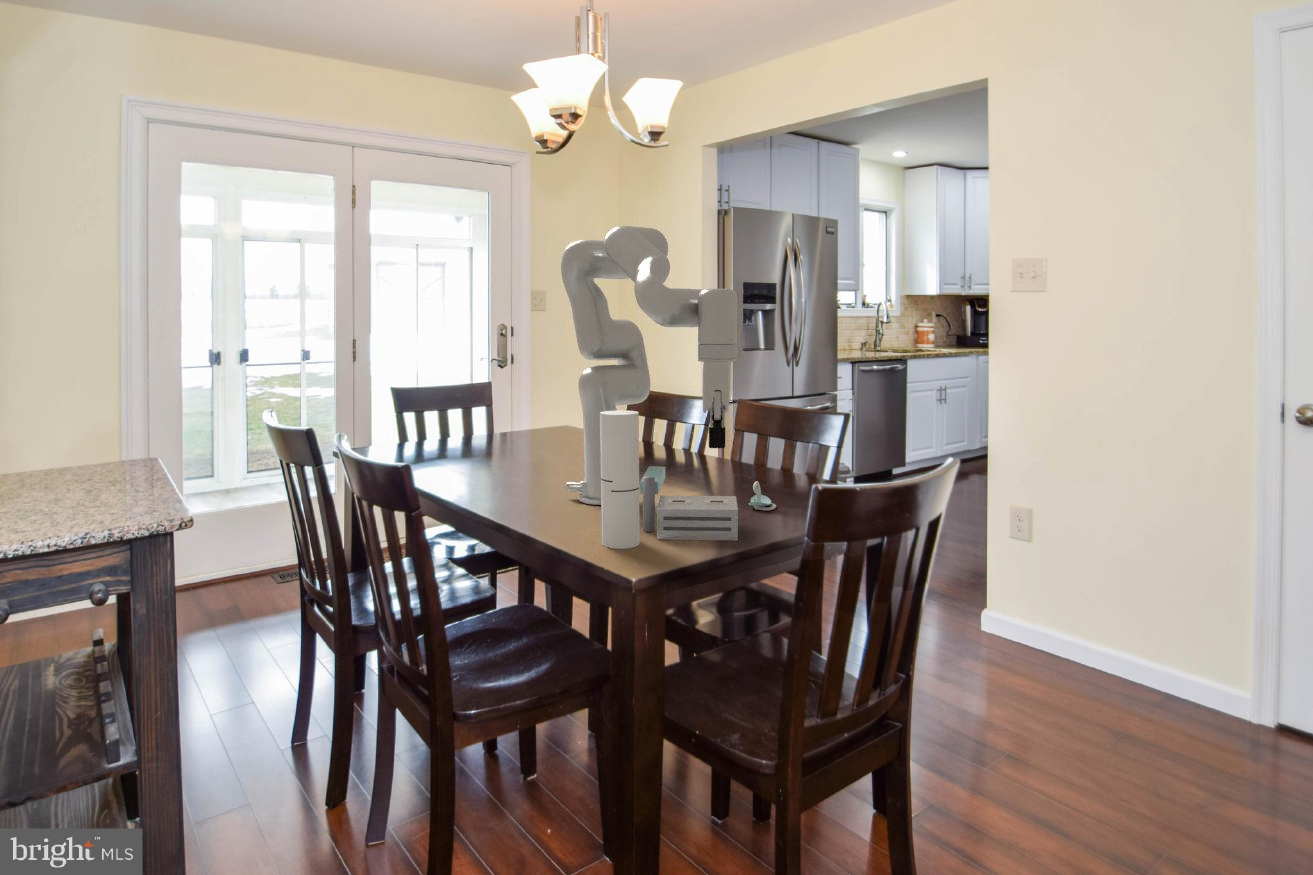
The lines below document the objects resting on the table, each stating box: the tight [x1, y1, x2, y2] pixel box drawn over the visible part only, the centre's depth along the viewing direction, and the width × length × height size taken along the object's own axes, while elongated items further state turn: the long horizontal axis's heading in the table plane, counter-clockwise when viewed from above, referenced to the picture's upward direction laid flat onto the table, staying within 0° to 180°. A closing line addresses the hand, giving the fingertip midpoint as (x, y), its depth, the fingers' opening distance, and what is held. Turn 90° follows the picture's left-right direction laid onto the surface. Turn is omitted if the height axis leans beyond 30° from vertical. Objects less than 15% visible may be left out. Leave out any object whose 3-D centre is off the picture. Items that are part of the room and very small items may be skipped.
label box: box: [656, 495, 739, 541], centre depth 159 cm, size 16×12×6 cm
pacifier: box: [748, 480, 777, 512], centre depth 180 cm, size 7×6×6 cm
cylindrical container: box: [600, 409, 641, 550], centre depth 150 cm, size 7×7×25 cm
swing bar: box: [639, 465, 666, 532], centre depth 168 cm, size 19×4×11 cm, turn 174°
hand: (716, 447), depth 157 cm, fingers closed
